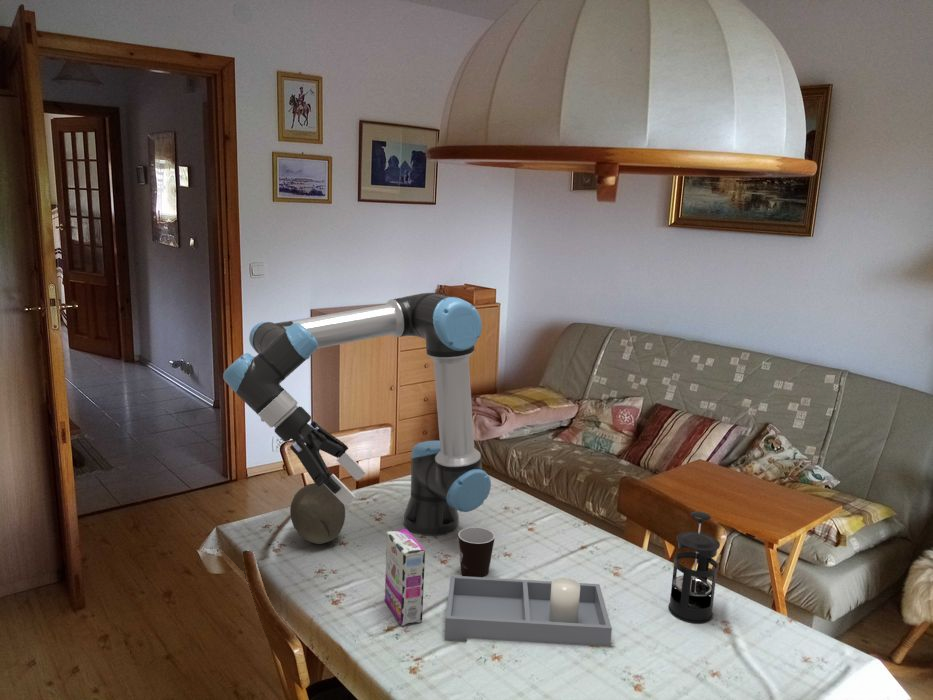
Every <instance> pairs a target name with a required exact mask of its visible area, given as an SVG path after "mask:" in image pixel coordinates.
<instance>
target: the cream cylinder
mask: <svg viewBox="0 0 933 700" xmlns="http://www.w3.org/2000/svg"><path fill="white" fill-rule="evenodd" d="M579 583H580V582H578V581H576V580H575V579H572V578H569V577H558V578H555V579H553V580H552V583H551V597H550V611H549V620H550V622H563V623H578V611H579V598H580V584H579Z"/></svg>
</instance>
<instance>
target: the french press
mask: <svg viewBox="0 0 933 700" xmlns="http://www.w3.org/2000/svg"><path fill="white" fill-rule="evenodd" d="M690 516H691V517H692V518H693V519H696V520H697V523H698V531H682V532H680V533H678V534H677V535H676V541H677V542H678V543H677V548H678V550H682V549H689V550H693V551H683V552H678V553H677V554H675V555H674V558H673V559H674V561H673V572H672V579H671V580H672V582H671V589H670V596H669V597H670V598H669V603H668V606H667V608H668V612H669V613H670V614H671V615H672V616H673V617H675V618H676V619H678V620H680V621H683V622H686V623H689V624H697V625H699V624H706V623H708V622H710V621H712V619H713V615H714V613H713V606H714V597H715V589H716V581H717V575H718V574H717V571H718V562H717V561H716V560H715V559H714V558H715V557H716V556H717V553H718V550H719V549H720V546H721V543H720V541H719V540H718V539H717V538H715V537H713V536H712V535H710V534H707V533H705V532H704V533H703V532H701V526H702V524H703V521H709V520H711V519H712V516H711V515H710V514H709V513H707V512H704V511H692V512H690ZM694 551H695V552H694ZM684 558H686V559H687V558H688V559H689V558H691V559H694V568H693V569H691V568H687V567H685V566H683V565H682V564H680V563H679V560H680V559H684ZM710 565H711V566H712V567H713V569H711V570H709V567H710ZM678 571H679V572H680V573H682V575H679V576H677V575H678V574H677V573H678ZM708 578H712V581H711V583H710V582H709V581H708ZM690 603H691V604H695V605H697V606H699V607H701V608H695V607H689V604H690Z"/></svg>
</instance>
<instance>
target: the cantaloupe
mask: <svg viewBox="0 0 933 700" xmlns="http://www.w3.org/2000/svg"><path fill="white" fill-rule="evenodd" d="M345 507H346V506H345V505H344V504H343V503H342V502H341V501H340V500H339V499H338V498H337V497H336V496H335V495H334V494H333V493H332V492H331V491H330V490H329V489H328V488H327V487H326V486H325V485H324V484H322V485H321V486H318V485H316V484H315V483H310V484H307V485H305V486H303V487H301V488H300V489H299V490H297V492H296V493H295V494H294V495H293V499H292V501H291V502H290V509H289V510H290V511H289V514H290V518H291V523H292V525H293V528H294V529H295V531H296V532H297V534H299V536H301V538H302V539H304V540H306V541H308V542H310V543H313V544H316V545H324V544H326V543H328V542H331V541H334V540H335V539H337V537H338V536H339V535H340V533H341V531H342V529H343V526H344V524H345V521H346V508H345Z"/></svg>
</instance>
